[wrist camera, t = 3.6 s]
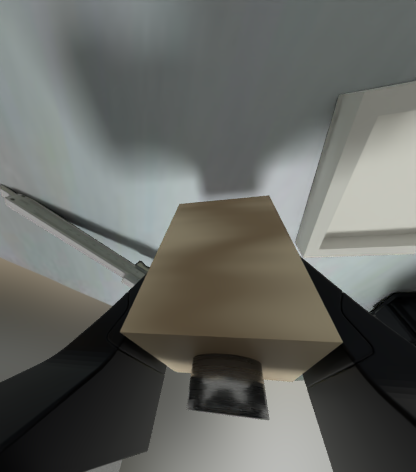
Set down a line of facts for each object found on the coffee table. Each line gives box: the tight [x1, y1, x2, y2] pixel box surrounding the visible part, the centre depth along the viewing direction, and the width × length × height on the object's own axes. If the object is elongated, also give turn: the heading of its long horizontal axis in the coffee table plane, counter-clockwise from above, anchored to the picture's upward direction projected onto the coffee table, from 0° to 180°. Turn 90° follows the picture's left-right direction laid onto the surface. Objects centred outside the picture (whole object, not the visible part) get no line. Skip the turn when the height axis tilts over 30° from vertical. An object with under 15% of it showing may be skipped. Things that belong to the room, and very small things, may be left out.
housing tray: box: [295, 81, 416, 258], centre depth 10 cm, size 11×11×2 cm
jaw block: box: [120, 196, 343, 420], centre depth 6 cm, size 4×4×7 cm
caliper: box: [0, 185, 150, 288], centre depth 15 cm, size 20×1×6 cm, turn 55°
